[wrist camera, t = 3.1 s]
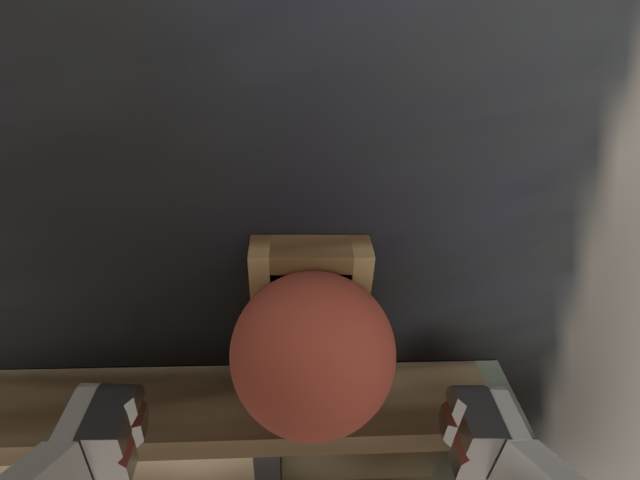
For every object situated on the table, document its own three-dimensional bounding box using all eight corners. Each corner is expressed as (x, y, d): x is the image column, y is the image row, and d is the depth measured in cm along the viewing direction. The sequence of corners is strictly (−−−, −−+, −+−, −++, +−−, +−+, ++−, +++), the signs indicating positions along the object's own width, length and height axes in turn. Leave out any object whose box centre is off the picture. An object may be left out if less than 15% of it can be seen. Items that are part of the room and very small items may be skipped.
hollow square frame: (250, 234, 13) (247, 258, 12) (369, 234, 13) (375, 257, 12) (256, 321, 15) (253, 348, 14) (358, 320, 15) (363, 346, 14)
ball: (233, 238, 12) (208, 364, 8) (389, 239, 12) (430, 359, 9) (242, 348, 15) (226, 482, 11) (373, 346, 15) (399, 476, 11)
